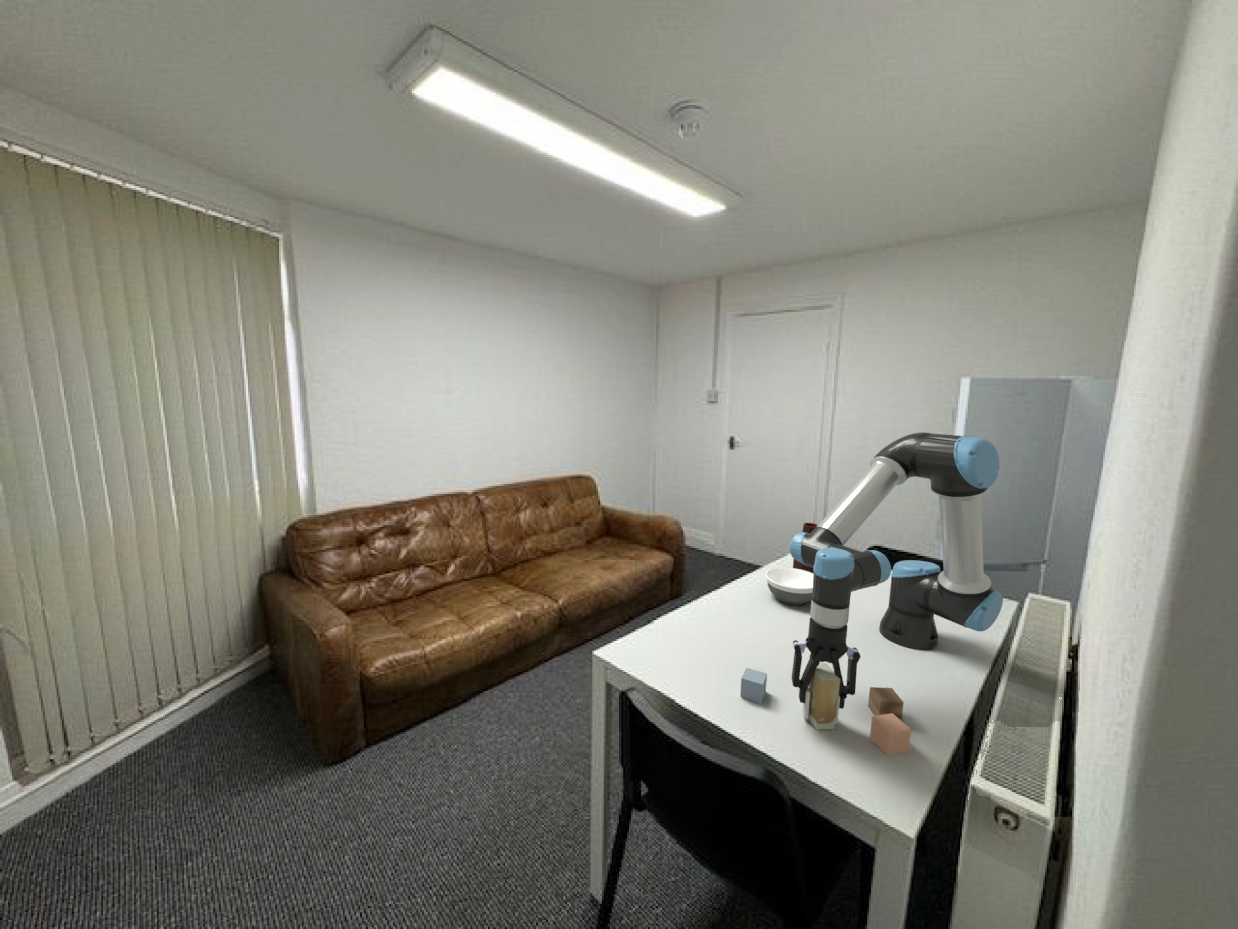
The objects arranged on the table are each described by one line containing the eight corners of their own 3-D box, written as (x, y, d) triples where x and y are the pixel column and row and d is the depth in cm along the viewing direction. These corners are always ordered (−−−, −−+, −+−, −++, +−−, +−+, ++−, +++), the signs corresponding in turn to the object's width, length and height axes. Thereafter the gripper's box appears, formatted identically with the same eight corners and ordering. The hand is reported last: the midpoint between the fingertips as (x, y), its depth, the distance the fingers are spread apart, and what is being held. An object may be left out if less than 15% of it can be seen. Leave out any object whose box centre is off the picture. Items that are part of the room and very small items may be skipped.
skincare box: (803, 711, 109) (807, 662, 107) (821, 710, 110) (825, 661, 108) (817, 731, 103) (821, 679, 101) (836, 730, 103) (841, 679, 101)
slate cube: (765, 692, 116) (767, 673, 115) (761, 703, 112) (762, 684, 111) (745, 686, 118) (746, 667, 118) (740, 697, 114) (741, 678, 113)
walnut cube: (889, 707, 111) (892, 688, 110) (901, 722, 106) (903, 702, 105) (867, 706, 111) (870, 687, 111) (878, 721, 106) (880, 701, 106)
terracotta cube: (889, 734, 103) (892, 713, 102) (908, 751, 98) (911, 729, 97) (869, 737, 101) (872, 716, 101) (887, 754, 97) (890, 733, 96)
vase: (795, 577, 187) (799, 527, 184) (790, 567, 198) (793, 520, 194) (824, 579, 185) (828, 529, 182) (817, 569, 196) (821, 521, 193)
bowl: (824, 596, 170) (826, 574, 169) (814, 617, 155) (816, 593, 153) (772, 584, 180) (773, 563, 179) (757, 602, 165) (759, 580, 163)
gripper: (870, 617, 104) (859, 713, 108) (781, 607, 108) (774, 700, 112) (880, 634, 97) (869, 736, 101) (785, 623, 101) (778, 721, 104)
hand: (819, 717), depth 106 cm, fingers closed on skincare box, 5 cm apart
